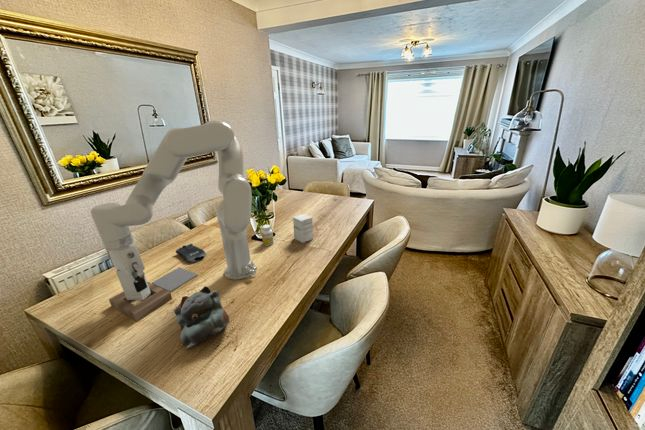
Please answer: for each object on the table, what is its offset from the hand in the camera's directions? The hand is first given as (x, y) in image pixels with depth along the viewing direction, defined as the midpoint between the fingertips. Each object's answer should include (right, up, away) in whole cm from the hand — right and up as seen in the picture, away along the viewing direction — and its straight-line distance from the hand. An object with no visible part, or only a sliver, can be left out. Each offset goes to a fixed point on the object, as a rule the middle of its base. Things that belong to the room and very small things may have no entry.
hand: (135, 286), depth 88 cm
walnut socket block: (0, -7, +3) cm, 7 cm away
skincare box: (0, -4, +2) cm, 5 cm away
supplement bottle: (+37, +10, +43) cm, 57 cm away
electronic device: (+3, +5, +33) cm, 33 cm away
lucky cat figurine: (+28, -11, -9) cm, 32 cm away
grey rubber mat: (+5, -2, +15) cm, 16 cm away
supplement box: (+55, +12, +46) cm, 73 cm away
